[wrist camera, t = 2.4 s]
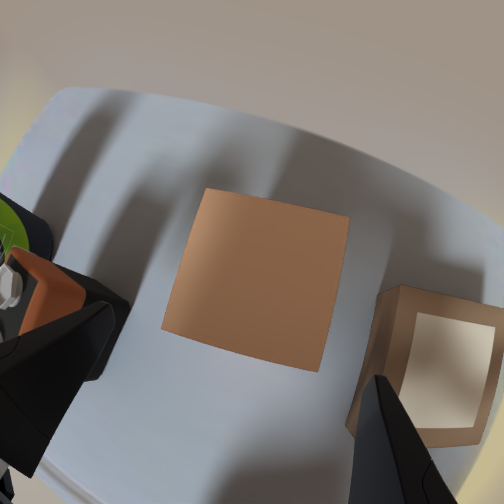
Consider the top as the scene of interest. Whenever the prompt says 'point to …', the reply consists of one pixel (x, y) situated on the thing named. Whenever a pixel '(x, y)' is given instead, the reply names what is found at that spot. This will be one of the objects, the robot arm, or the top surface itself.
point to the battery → (50, 298)
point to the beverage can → (22, 231)
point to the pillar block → (259, 278)
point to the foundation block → (435, 362)
